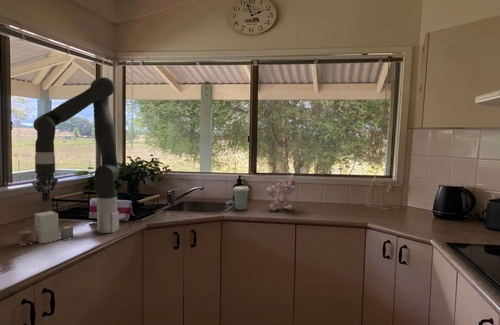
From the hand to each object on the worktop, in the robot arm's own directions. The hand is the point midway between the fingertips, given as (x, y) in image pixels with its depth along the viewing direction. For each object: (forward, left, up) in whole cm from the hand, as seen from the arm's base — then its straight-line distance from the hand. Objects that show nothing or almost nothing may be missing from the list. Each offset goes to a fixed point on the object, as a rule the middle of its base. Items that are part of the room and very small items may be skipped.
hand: (46, 201), depth 148 cm
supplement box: (0, 0, -18) cm, 18 cm away
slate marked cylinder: (-6, -5, -18) cm, 20 cm away
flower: (-100, -88, -18) cm, 134 cm away
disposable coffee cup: (-74, -85, -18) cm, 114 cm away
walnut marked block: (+6, +5, -18) cm, 20 cm away
